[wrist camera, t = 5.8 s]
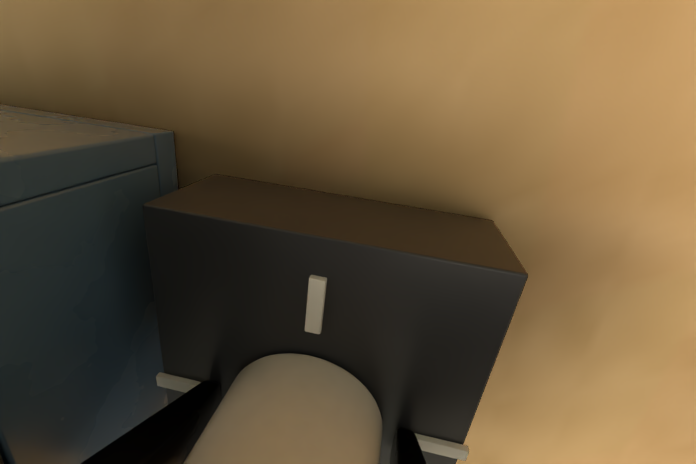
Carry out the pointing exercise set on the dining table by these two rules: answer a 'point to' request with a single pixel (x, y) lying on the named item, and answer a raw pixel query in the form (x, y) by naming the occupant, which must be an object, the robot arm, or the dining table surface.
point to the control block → (334, 297)
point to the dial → (292, 416)
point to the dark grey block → (77, 282)
